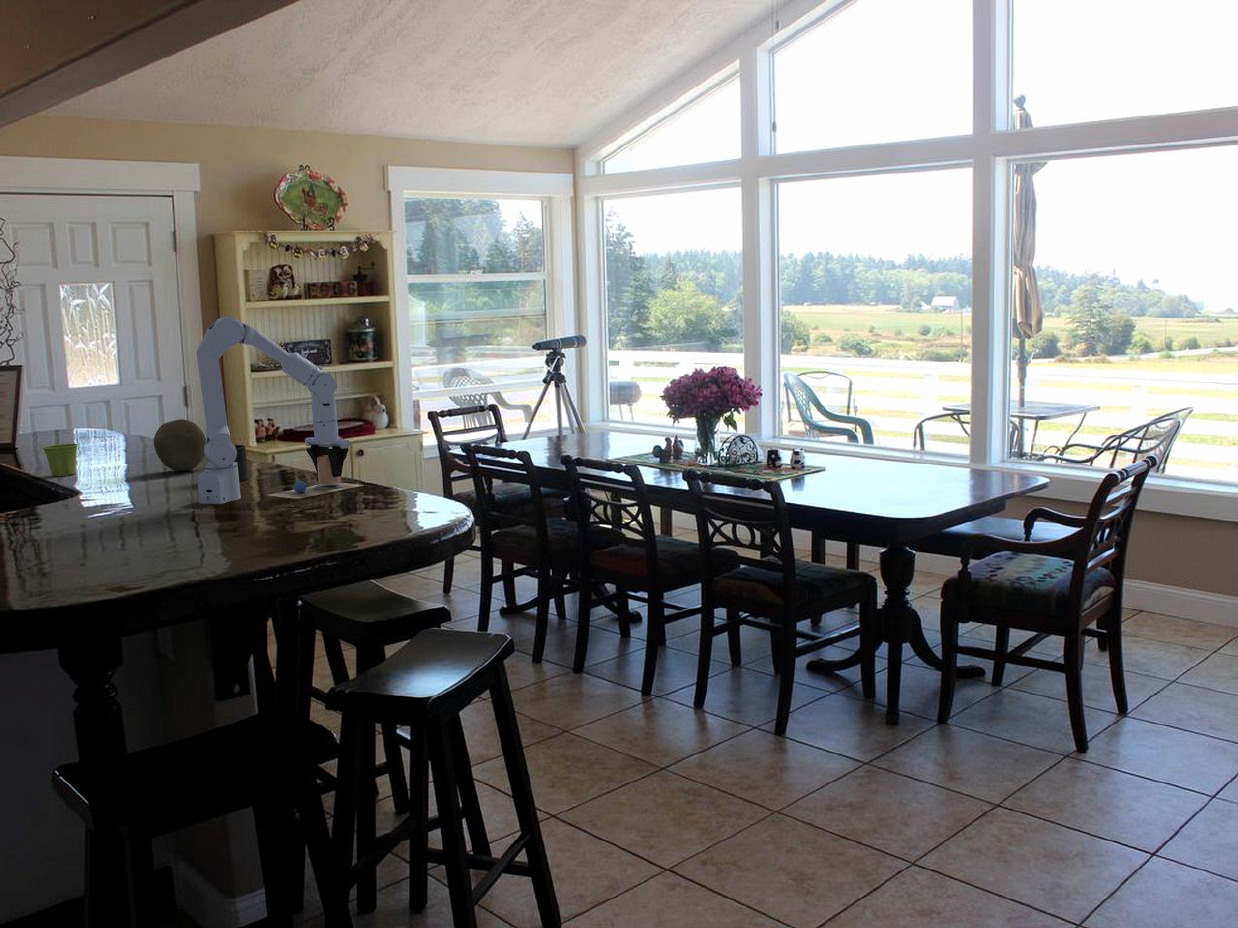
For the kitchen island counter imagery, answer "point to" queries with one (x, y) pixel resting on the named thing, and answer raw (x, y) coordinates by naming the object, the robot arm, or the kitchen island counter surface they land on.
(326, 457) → the wooden block
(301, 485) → the marble
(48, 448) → the plant pot
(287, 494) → the board
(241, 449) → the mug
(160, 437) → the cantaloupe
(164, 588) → the kitchen island counter surface
